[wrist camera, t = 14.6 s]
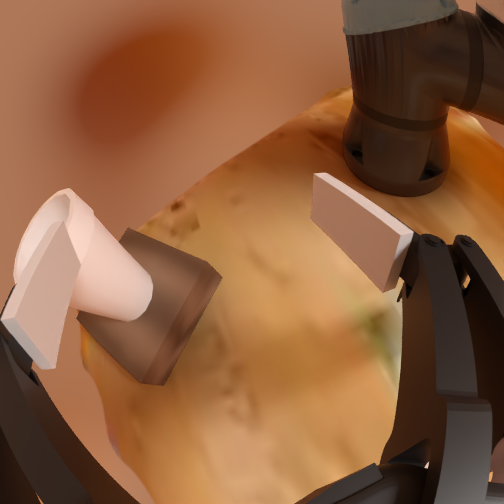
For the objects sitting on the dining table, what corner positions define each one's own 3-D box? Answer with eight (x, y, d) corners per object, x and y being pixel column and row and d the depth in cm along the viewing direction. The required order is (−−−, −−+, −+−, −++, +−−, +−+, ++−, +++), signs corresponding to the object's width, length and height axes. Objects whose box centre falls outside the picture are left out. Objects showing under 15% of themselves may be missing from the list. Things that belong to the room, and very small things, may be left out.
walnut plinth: (144, 242, 36) (127, 227, 33) (222, 277, 30) (207, 261, 27) (97, 326, 32) (76, 318, 29) (163, 385, 26) (141, 383, 22)
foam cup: (94, 324, 27) (4, 281, 16) (117, 254, 31) (42, 195, 20) (151, 344, 24) (41, 299, 13) (175, 258, 28) (92, 181, 17)
